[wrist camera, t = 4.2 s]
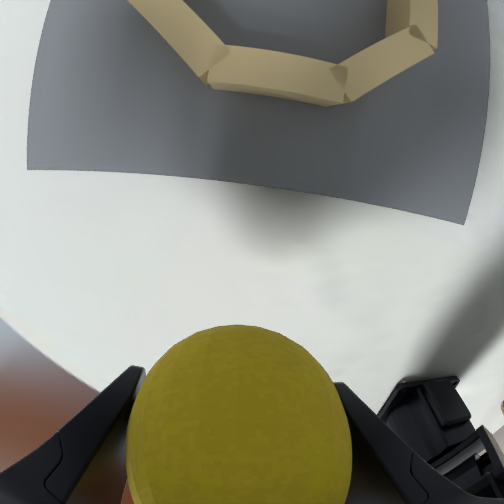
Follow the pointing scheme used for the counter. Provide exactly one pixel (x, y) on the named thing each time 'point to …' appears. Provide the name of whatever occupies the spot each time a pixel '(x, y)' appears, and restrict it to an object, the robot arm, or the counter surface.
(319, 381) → the lemon
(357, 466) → the robot arm
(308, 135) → the plate
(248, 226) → the counter surface
